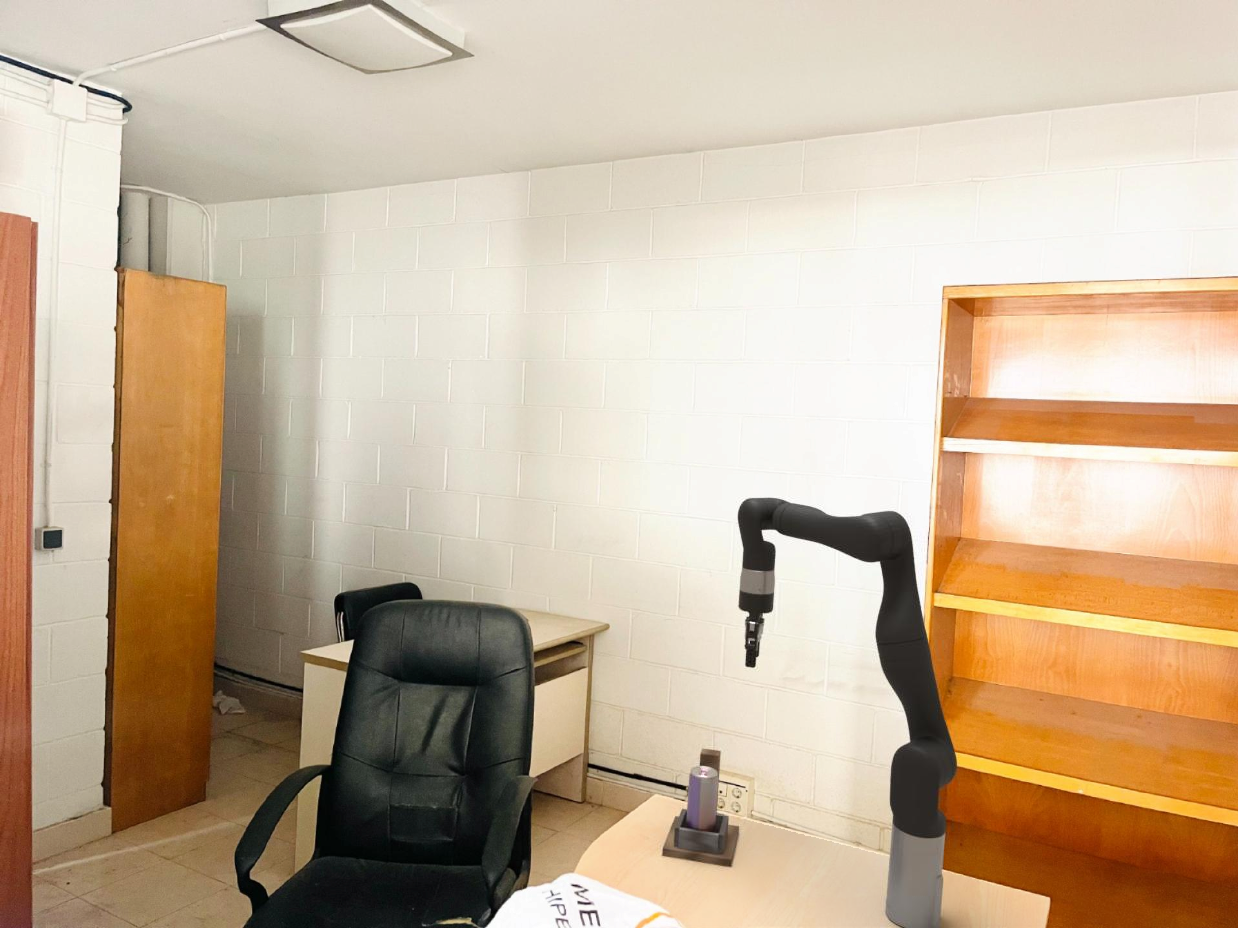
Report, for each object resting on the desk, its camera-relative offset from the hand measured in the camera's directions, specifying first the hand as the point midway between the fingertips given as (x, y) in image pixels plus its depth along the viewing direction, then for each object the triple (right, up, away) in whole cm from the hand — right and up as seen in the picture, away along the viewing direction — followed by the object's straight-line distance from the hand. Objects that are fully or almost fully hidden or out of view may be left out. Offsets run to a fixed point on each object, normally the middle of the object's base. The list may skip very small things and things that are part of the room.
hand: (752, 661), depth 201 cm
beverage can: (-12, -35, -11) cm, 39 cm away
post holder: (-12, -36, -9) cm, 39 cm away
